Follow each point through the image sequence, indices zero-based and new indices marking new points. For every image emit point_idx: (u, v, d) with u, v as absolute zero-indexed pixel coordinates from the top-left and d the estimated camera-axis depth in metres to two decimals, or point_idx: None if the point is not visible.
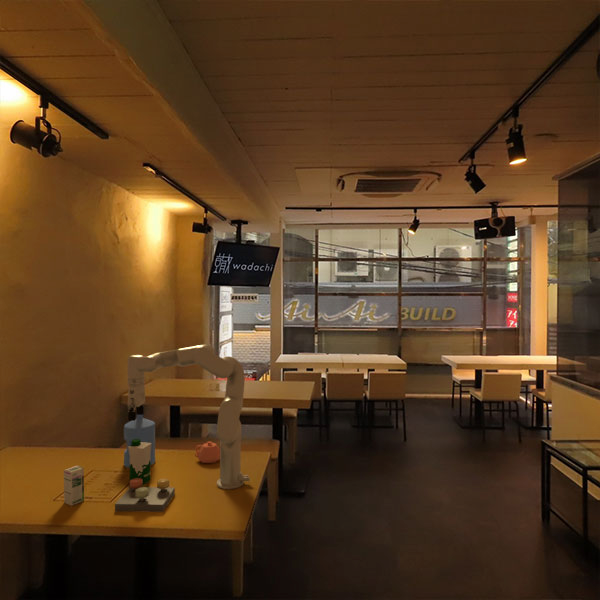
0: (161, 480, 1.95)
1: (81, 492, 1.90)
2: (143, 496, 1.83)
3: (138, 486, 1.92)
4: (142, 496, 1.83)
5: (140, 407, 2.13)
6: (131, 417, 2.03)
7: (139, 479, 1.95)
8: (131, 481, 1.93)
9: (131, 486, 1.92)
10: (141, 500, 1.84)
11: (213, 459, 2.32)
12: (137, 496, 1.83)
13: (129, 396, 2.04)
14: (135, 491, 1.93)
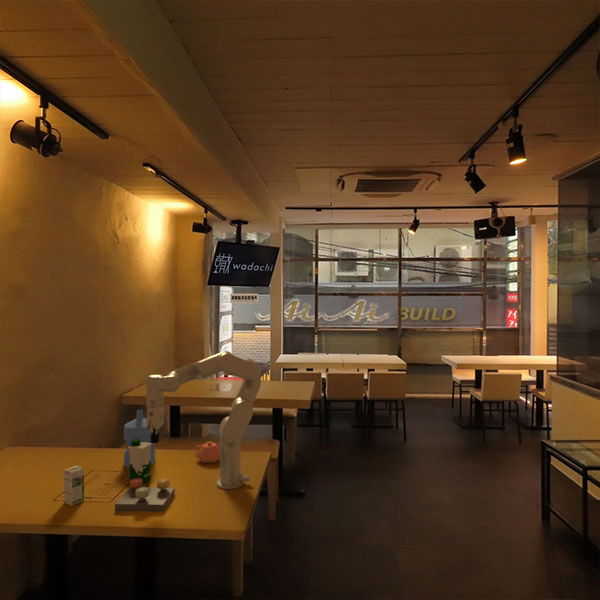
0: (161, 480, 1.95)
1: (81, 492, 1.90)
2: (143, 496, 1.83)
3: (138, 486, 1.92)
4: (142, 496, 1.83)
5: None
6: (154, 440, 1.99)
7: (139, 479, 1.95)
8: (131, 481, 1.93)
9: (131, 486, 1.92)
10: (141, 500, 1.84)
11: (213, 459, 2.32)
12: (137, 496, 1.83)
13: (148, 418, 1.96)
14: (135, 491, 1.93)
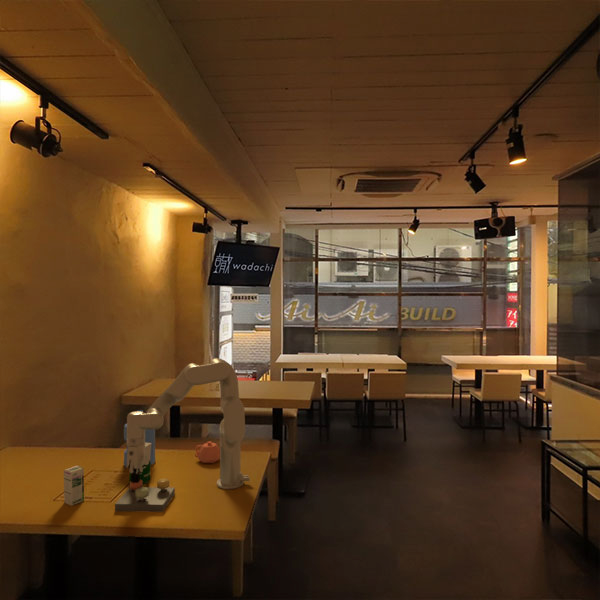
0: (161, 480, 1.95)
1: (81, 492, 1.90)
2: (143, 496, 1.83)
3: (138, 487, 1.92)
4: (142, 496, 1.83)
5: None
6: (134, 479, 1.93)
7: None
8: (131, 482, 1.93)
9: (131, 487, 1.92)
10: (141, 500, 1.84)
11: (213, 459, 2.32)
12: (137, 496, 1.83)
13: (128, 458, 1.89)
14: None
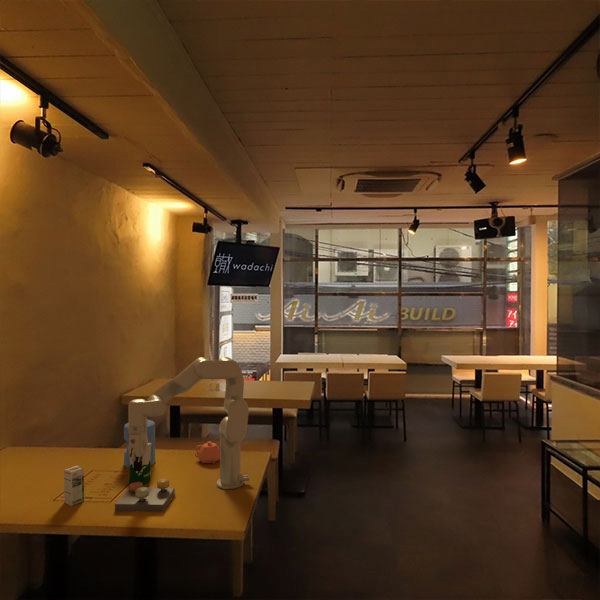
0: (161, 480, 1.95)
1: (81, 492, 1.90)
2: (143, 496, 1.83)
3: None
4: (142, 496, 1.83)
5: None
6: (136, 468, 1.90)
7: (139, 483, 1.95)
8: (131, 485, 1.93)
9: (131, 490, 1.92)
10: (141, 500, 1.84)
11: (213, 459, 2.32)
12: (137, 496, 1.83)
13: (130, 446, 1.87)
14: None
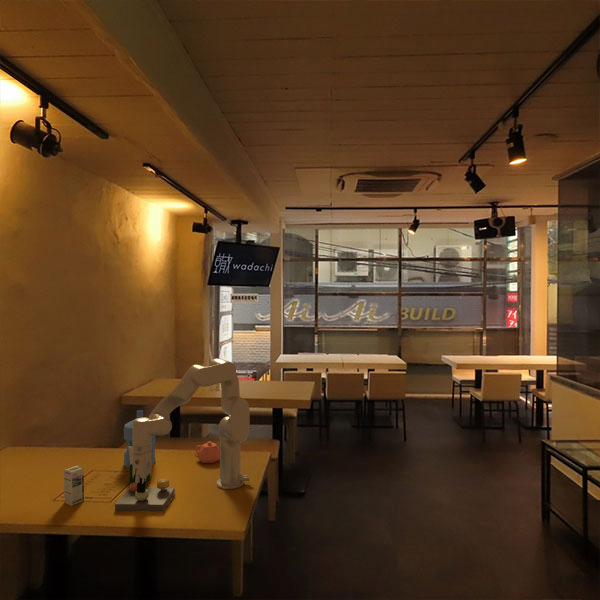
0: (161, 480, 1.95)
1: (81, 492, 1.90)
2: (143, 498, 1.83)
3: None
4: (142, 498, 1.83)
5: None
6: (140, 489, 1.83)
7: None
8: (131, 485, 1.93)
9: (131, 490, 1.92)
10: None
11: (213, 459, 2.32)
12: (137, 498, 1.83)
13: (134, 467, 1.80)
14: None
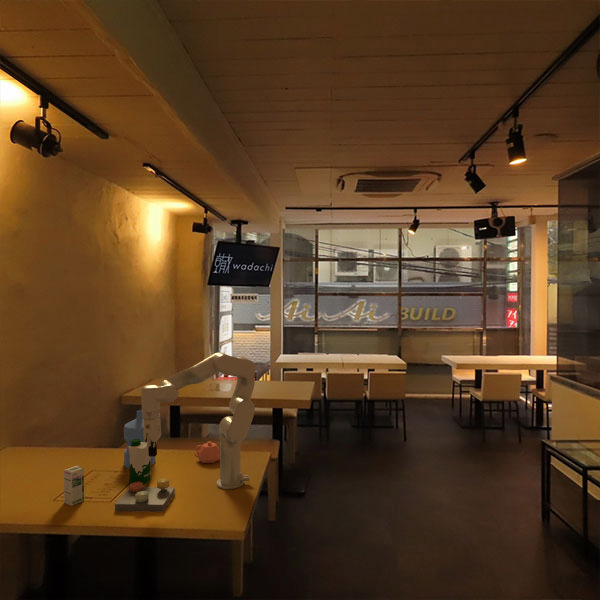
0: (161, 480, 1.95)
1: (81, 492, 1.90)
2: (143, 500, 1.83)
3: (138, 490, 1.92)
4: (142, 500, 1.83)
5: None
6: (152, 453, 1.91)
7: (139, 483, 1.95)
8: (131, 485, 1.93)
9: (131, 490, 1.92)
10: None
11: (213, 459, 2.32)
12: (137, 500, 1.83)
13: (145, 431, 1.87)
14: None
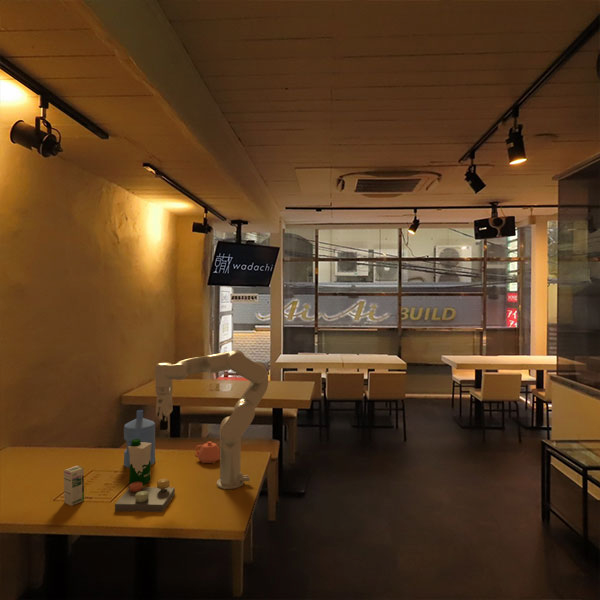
0: (161, 480, 1.95)
1: (81, 492, 1.90)
2: (143, 500, 1.83)
3: (138, 490, 1.92)
4: (142, 500, 1.83)
5: None
6: (163, 426, 2.02)
7: (139, 483, 1.95)
8: (131, 485, 1.93)
9: (131, 490, 1.92)
10: None
11: (213, 459, 2.32)
12: (137, 500, 1.83)
13: (157, 405, 1.99)
14: None
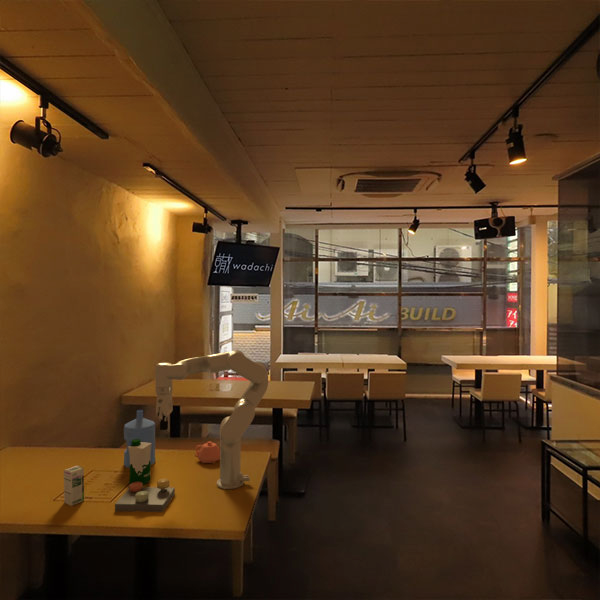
0: (161, 480, 1.95)
1: (81, 492, 1.90)
2: (143, 500, 1.83)
3: (138, 490, 1.92)
4: (142, 500, 1.83)
5: None
6: (163, 426, 2.02)
7: (139, 483, 1.95)
8: (131, 485, 1.93)
9: (131, 490, 1.92)
10: None
11: (213, 459, 2.32)
12: (137, 500, 1.83)
13: (157, 405, 1.99)
14: None
